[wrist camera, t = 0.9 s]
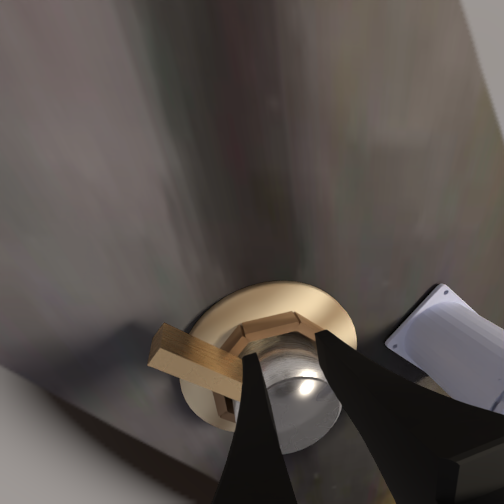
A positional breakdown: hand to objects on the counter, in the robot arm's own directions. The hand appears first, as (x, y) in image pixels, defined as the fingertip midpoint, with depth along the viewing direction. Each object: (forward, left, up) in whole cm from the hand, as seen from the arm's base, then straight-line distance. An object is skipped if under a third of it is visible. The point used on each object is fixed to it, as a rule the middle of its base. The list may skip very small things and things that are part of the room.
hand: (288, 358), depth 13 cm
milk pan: (-3, +6, -8) cm, 11 cm away
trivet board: (-7, +6, -9) cm, 13 cm away
